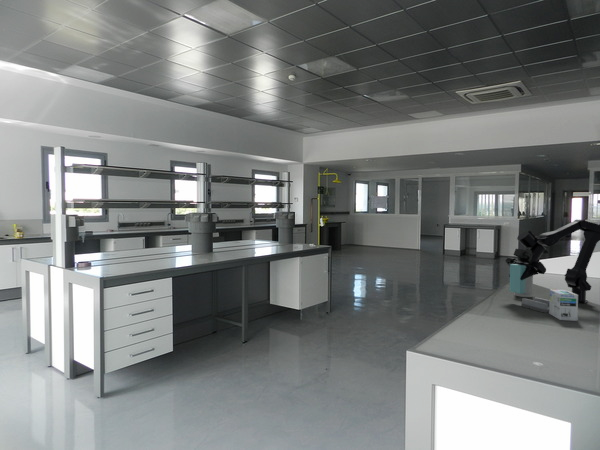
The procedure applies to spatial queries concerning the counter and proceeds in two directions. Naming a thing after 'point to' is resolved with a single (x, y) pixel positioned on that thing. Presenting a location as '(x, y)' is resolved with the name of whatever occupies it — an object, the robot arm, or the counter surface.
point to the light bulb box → (563, 305)
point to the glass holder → (527, 288)
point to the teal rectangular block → (517, 278)
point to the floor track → (536, 304)
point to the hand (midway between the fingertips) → (515, 278)
